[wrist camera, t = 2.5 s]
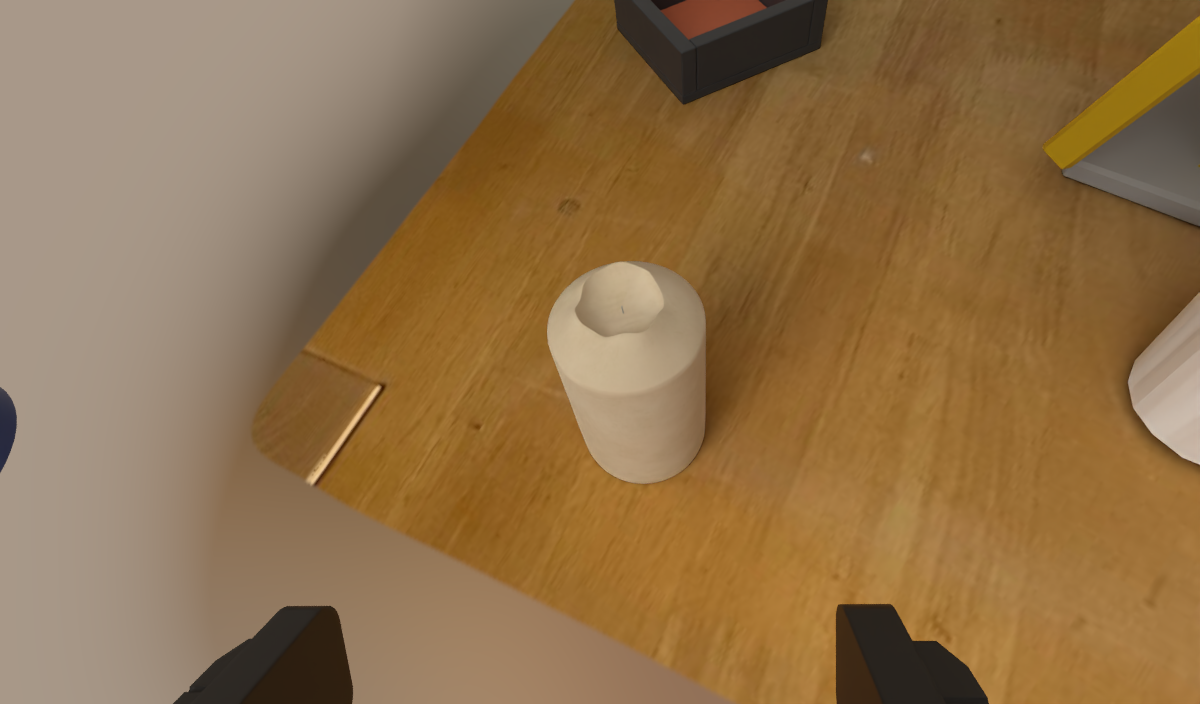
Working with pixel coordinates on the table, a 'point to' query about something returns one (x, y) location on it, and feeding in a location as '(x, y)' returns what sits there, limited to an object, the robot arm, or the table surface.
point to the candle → (633, 367)
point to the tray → (718, 38)
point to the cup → (1172, 384)
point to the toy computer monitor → (1143, 133)
